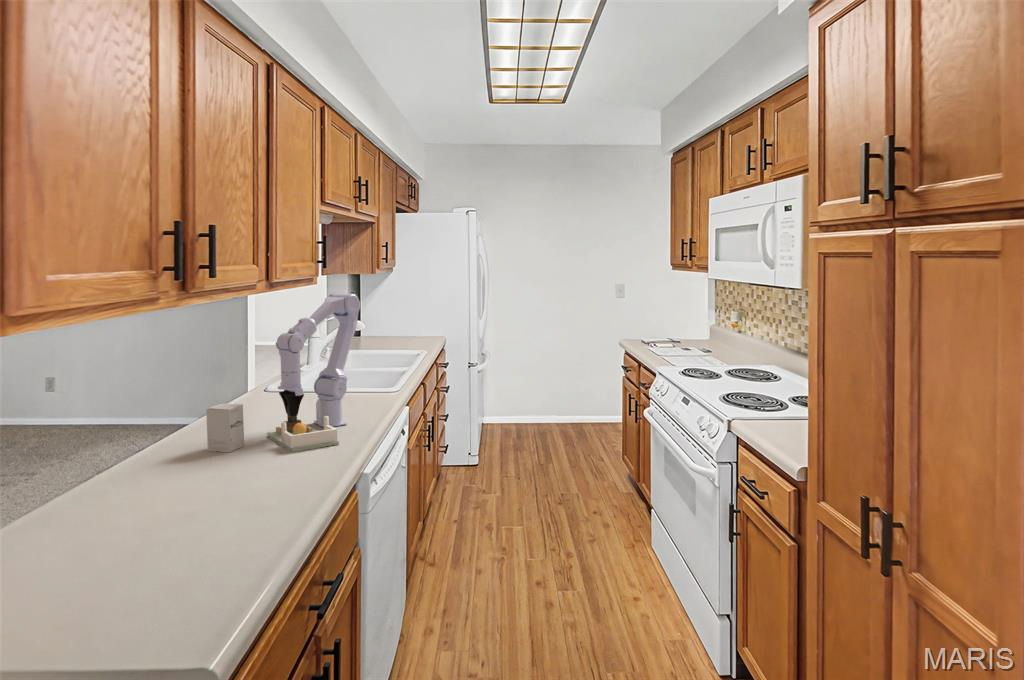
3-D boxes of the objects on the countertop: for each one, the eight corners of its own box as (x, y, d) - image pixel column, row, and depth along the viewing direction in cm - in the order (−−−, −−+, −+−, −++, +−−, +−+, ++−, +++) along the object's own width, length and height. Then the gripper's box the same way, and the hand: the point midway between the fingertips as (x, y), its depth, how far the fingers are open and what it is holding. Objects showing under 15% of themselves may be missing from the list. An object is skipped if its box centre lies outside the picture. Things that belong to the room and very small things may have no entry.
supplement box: (230, 453, 194) (228, 409, 193) (207, 451, 196) (205, 408, 194) (245, 446, 201) (243, 403, 200) (222, 444, 203) (220, 402, 201)
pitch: (266, 436, 212) (265, 414, 211) (311, 429, 221) (311, 408, 220) (291, 452, 195) (290, 428, 194) (339, 444, 204) (339, 421, 203)
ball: (291, 435, 210) (290, 422, 209) (303, 433, 212) (303, 420, 212) (295, 438, 207) (295, 425, 206) (308, 436, 209) (308, 423, 208)
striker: (283, 430, 214) (282, 405, 213) (298, 428, 217) (298, 403, 216) (286, 432, 212) (285, 407, 211) (302, 430, 215) (301, 405, 214)
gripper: (270, 369, 215) (271, 411, 217) (285, 376, 204) (287, 420, 206) (292, 367, 220) (293, 409, 221) (308, 374, 208) (310, 417, 210)
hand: (292, 414), depth 214 cm, fingers closed on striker, 3 cm apart
